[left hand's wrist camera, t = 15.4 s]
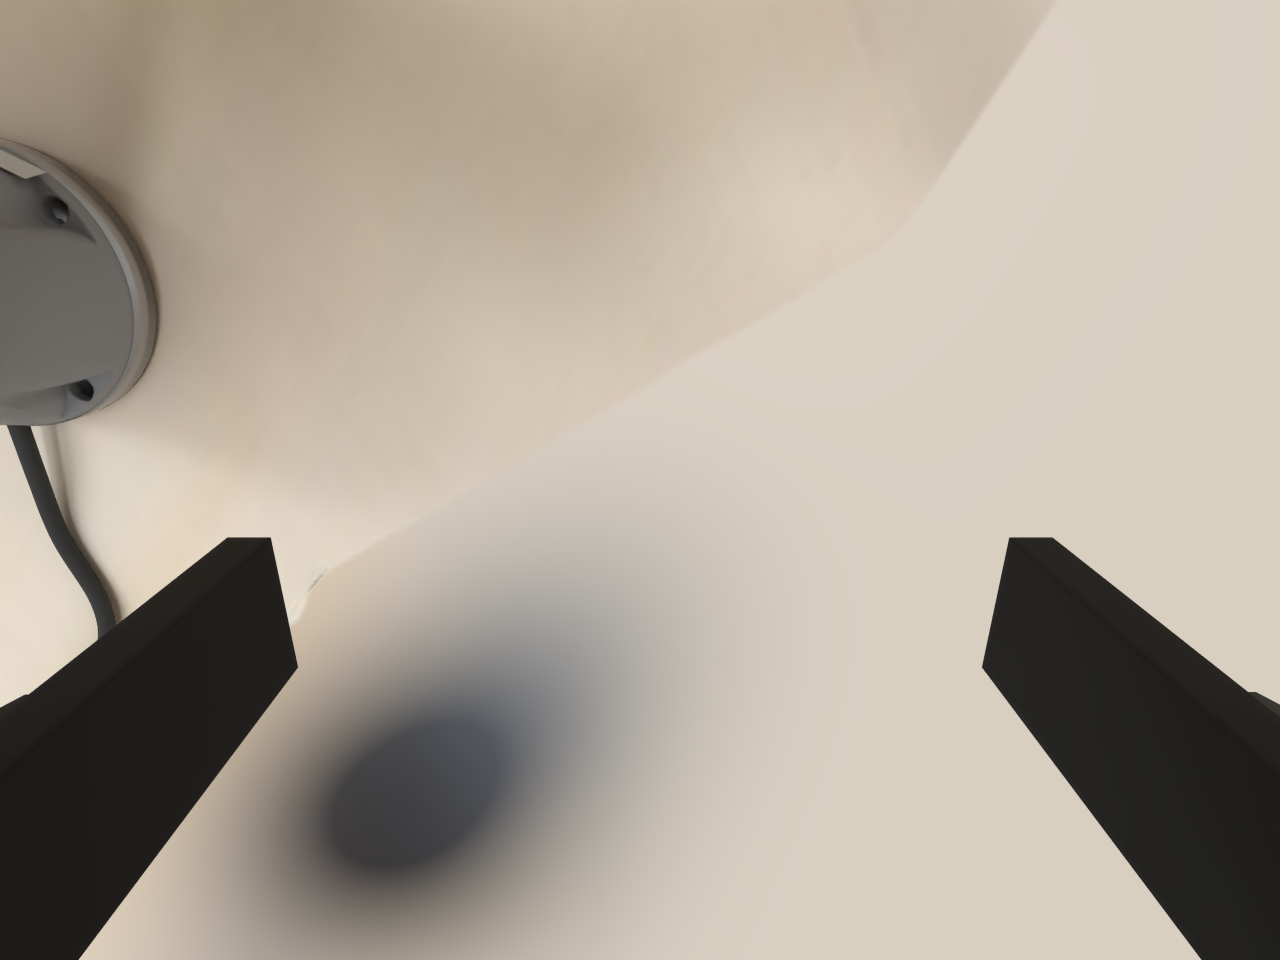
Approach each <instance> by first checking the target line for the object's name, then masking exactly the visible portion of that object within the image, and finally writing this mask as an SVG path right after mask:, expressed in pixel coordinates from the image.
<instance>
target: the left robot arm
mask: <svg viewBox="0 0 1280 960" xmlns="http://www.w3.org/2000/svg"><path fill="white" fill-rule="evenodd" d="M155 334H156V304H155V297H154V291H153V287H152V283H151V279H150V276H149V273H148V270H147V267H146V265H145V262H144V260H143V258H142V255H141V253H140V251H139V249H138V247H137V245H136V243H135V242H134V240H133V238H132V236H131V235H130V233H129V232H128V230H127V228H126V227H125V225H124V224H123V222H122V221H121V220H120V218H119V217H118V216H117V215H116V213H115V212H114V211H113V209H112V208H111V207H110V206H109V205H108V204H107V203H106V201H105V200H104V199H103V198H102V197H101V196H100V195H99V194H98V193H97V192H96V191H95V190H94V189H93V188H92V187H91V186H89V185H88V184H87V183H86V182H85V181H83V180H82V179H81V178H80V177H79V176H77V175H76V174H75V173H73V172H72V171H70V170H69V169H68V168H66V167H65V166H63V165H62V164H60V163H58V162H57V161H55V160H53V159H52V158H50V157H48V156H46V155H44V154H42V153H40V152H38V151H36V150H34V149H31V148H29V147H26V146H24V145H21V144H18V143H15V142H11V141H8V140H4V139H0V425H7V427H8V429H9V432H10V435H11V438H12V440H13V443H14V446H15V449H16V451H17V454H18V457H19V460H20V462H21V465H22V468H23V470H24V473H25V476H26V478H27V481H28V484H29V486H30V489H31V492H32V494H33V497H34V500H35V502H36V505H37V508H38V510H39V513H40V515H41V518H42V520H43V523H44V525H45V527H46V529H47V532H48V534H49V536H50V538H51V540H52V542H53V544H54V546H55V547H56V549H57V551H58V552H59V554H60V556H61V557H62V559H63V560H64V562H65V563H66V565H67V566H68V568H69V569H70V571H71V572H72V574H73V575H74V577H75V578H76V580H77V581H78V583H79V584H80V586H81V587H82V589H83V590H84V592H85V594H86V596H87V597H88V599H89V601H90V603H91V606H92V608H93V611H94V614H95V617H96V621H97V626H98V640H97V641H96V642H95V643H93V644H92V645H91V646H90V647H88V648H87V649H86V650H85V651H83V652H82V653H81V654H79V655H78V656H77V657H76V658H74V659H73V660H72V661H71V662H69V663H68V664H67V665H66V666H64V667H63V668H62V669H60V670H59V671H58V672H57V673H55V674H54V675H53V676H52V677H50V678H49V679H48V680H47V681H45V682H44V683H43V684H41V685H40V686H39V687H38V688H36V689H35V690H34V691H33V692H31V693H30V694H29V695H23V696H21V697H20V698H18V699H16V700H14V701H12V702H10V703H8V704H6V705H4V706H3V707H1V708H0V960H79V958H80V957H81V956H82V954H83V953H84V952H85V950H86V949H87V948H88V946H89V945H90V944H91V942H92V941H93V940H94V938H95V937H96V936H97V934H98V933H99V932H100V930H101V929H102V928H103V926H104V925H105V924H106V922H107V921H108V920H109V918H110V917H111V916H112V914H113V913H114V912H115V910H116V909H117V908H118V906H119V905H120V904H121V902H122V901H123V900H124V898H125V897H126V896H127V895H128V893H129V892H130V890H131V889H132V888H133V887H134V885H135V884H136V883H137V881H138V880H139V879H140V877H141V876H142V875H143V873H144V872H145V871H146V869H147V868H148V866H149V865H150V864H151V863H152V861H153V860H154V858H155V857H156V856H157V855H158V853H159V852H160V851H161V849H162V848H163V846H164V845H165V844H166V843H167V841H168V840H169V839H170V837H171V836H172V835H173V833H174V832H175V831H176V829H177V828H178V827H179V825H180V824H181V823H182V821H183V820H184V819H185V817H186V816H187V814H188V813H189V812H190V811H191V809H192V808H193V807H194V805H195V804H196V803H197V801H198V800H199V799H200V797H201V796H202V795H203V793H204V792H205V791H206V789H207V788H208V787H209V785H210V784H211V783H212V781H213V780H214V779H215V777H216V776H217V774H218V773H219V772H220V771H221V769H222V768H223V767H224V765H225V764H226V763H227V761H228V760H229V759H230V757H231V756H232V755H233V753H234V752H235V751H236V749H237V748H238V747H239V745H240V744H241V743H242V741H243V740H244V739H245V737H246V736H247V735H248V733H249V732H250V731H251V729H252V728H253V727H254V725H255V724H256V723H257V721H258V720H259V719H260V717H261V716H262V715H263V713H264V712H265V711H266V709H267V708H268V707H269V705H270V704H271V703H272V701H273V700H274V699H275V697H276V696H277V695H278V693H279V692H280V691H281V689H282V688H283V687H284V685H285V684H286V683H287V681H288V680H289V679H290V677H291V676H292V675H293V673H294V672H295V671H296V669H297V668H298V665H297V660H296V655H295V651H294V646H293V641H292V636H291V632H290V627H289V622H288V617H287V613H286V608H285V603H284V599H283V594H282V589H281V584H280V580H279V575H278V570H277V565H276V561H275V556H274V551H273V546H272V542H271V538H226V539H225V540H224V541H223V542H221V543H220V544H219V545H217V546H216V547H215V548H214V549H212V550H211V551H210V552H209V553H207V554H206V555H205V556H204V557H202V558H201V559H200V560H198V561H197V562H196V563H195V564H193V565H192V566H191V567H190V568H188V569H187V570H186V571H185V572H183V573H182V574H181V575H179V576H178V577H177V578H176V579H174V580H173V581H172V582H171V583H169V584H168V585H167V586H166V587H164V588H163V589H162V590H160V591H159V592H158V593H157V594H155V595H154V596H153V597H152V598H150V599H149V600H148V601H147V602H145V603H144V604H143V605H141V606H140V607H139V608H138V609H136V610H135V611H134V612H133V613H131V614H130V615H129V616H128V617H126V618H125V619H124V620H122V621H121V622H120V623H119V624H117V625H116V622H115V617H114V612H113V609H112V605H111V603H110V600H109V598H108V596H107V593H106V591H105V589H104V588H103V586H102V584H101V582H100V581H99V579H98V578H97V576H96V574H95V573H94V571H93V570H92V568H91V567H90V565H89V564H88V562H87V561H86V559H85V558H84V556H83V555H82V553H81V552H80V550H79V548H78V547H77V545H76V544H75V542H74V540H73V538H72V536H71V534H70V532H69V530H68V528H67V526H66V524H65V521H64V519H63V517H62V514H61V512H60V509H59V506H58V504H57V501H56V498H55V495H54V492H53V489H52V487H51V484H50V481H49V478H48V475H47V473H46V470H45V467H44V464H43V461H42V459H41V456H40V453H39V450H38V447H37V444H36V441H35V438H34V435H33V433H32V430H31V427H30V426H42V425H52V424H57V423H62V422H66V421H69V420H72V419H75V418H78V417H81V416H84V415H86V414H89V413H92V412H94V411H97V410H100V409H102V408H104V407H106V406H108V405H110V404H112V403H113V402H115V401H116V400H118V399H119V398H121V397H122V396H123V395H124V394H126V393H127V392H128V391H129V390H130V389H131V388H132V387H133V386H134V384H135V383H136V382H137V380H138V379H139V378H140V376H141V375H142V373H143V371H144V369H145V368H146V366H147V363H148V361H149V359H150V356H151V353H152V349H153V346H154V341H155ZM316 583H317V581H316ZM316 583H315V584H316ZM315 584H314V585H315ZM314 585H313V586H314ZM313 586H312V587H313ZM982 668H983V669H984V671H985V672H986V673H987V675H988V676H989V677H990V679H991V680H992V681H993V683H994V684H995V685H996V687H997V688H998V689H999V691H1000V692H1001V693H1002V695H1003V696H1004V697H1005V699H1006V700H1007V701H1008V703H1009V704H1010V705H1011V707H1012V708H1013V709H1014V711H1015V712H1016V713H1017V715H1018V716H1019V717H1020V719H1021V720H1022V721H1023V723H1024V724H1025V725H1026V727H1027V728H1028V729H1029V731H1030V732H1031V733H1032V735H1033V736H1034V737H1035V739H1036V740H1037V741H1038V743H1039V744H1040V745H1041V747H1042V748H1043V749H1044V751H1045V752H1046V753H1047V755H1048V756H1049V757H1050V759H1051V760H1052V761H1053V763H1054V764H1055V765H1056V767H1057V768H1058V769H1059V771H1060V772H1061V773H1062V775H1063V776H1064V777H1065V779H1066V780H1067V781H1068V783H1069V784H1070V785H1071V786H1072V788H1073V789H1074V791H1075V792H1076V793H1077V795H1078V796H1079V797H1080V799H1081V800H1082V801H1083V803H1084V804H1085V805H1086V807H1087V808H1088V809H1089V811H1090V812H1091V813H1092V815H1093V816H1094V817H1095V819H1096V820H1097V821H1098V823H1099V824H1100V825H1101V826H1102V828H1103V829H1104V831H1105V832H1106V833H1107V835H1108V836H1109V837H1110V839H1111V840H1112V841H1113V843H1114V844H1115V845H1116V846H1117V848H1118V849H1119V850H1120V852H1121V853H1122V855H1123V856H1124V857H1125V859H1126V860H1127V861H1128V862H1129V864H1130V865H1131V867H1132V868H1133V869H1134V871H1135V872H1136V873H1137V875H1138V876H1139V877H1140V879H1141V880H1142V881H1143V882H1144V884H1145V885H1146V887H1147V888H1148V889H1149V890H1150V892H1151V893H1152V894H1153V896H1154V897H1155V898H1156V900H1157V901H1158V902H1159V904H1160V905H1161V906H1162V908H1163V909H1164V910H1165V912H1166V913H1167V914H1168V916H1169V917H1170V918H1171V920H1172V921H1173V922H1174V924H1175V925H1176V926H1177V928H1178V929H1179V930H1180V932H1181V933H1182V934H1183V936H1184V937H1185V938H1186V940H1187V941H1188V942H1189V944H1190V945H1191V946H1192V948H1193V949H1194V950H1195V952H1196V953H1197V954H1198V956H1199V957H1200V958H1201V960H1280V705H1279V704H1278V703H1276V702H1274V701H1272V700H1270V699H1268V698H1266V697H1264V696H1262V695H1260V694H1258V693H1257V692H1247V691H1246V690H1245V689H1243V688H1242V687H1241V686H1240V685H1239V684H1237V683H1236V682H1235V681H1233V680H1232V679H1231V678H1230V677H1228V676H1227V675H1226V674H1225V673H1223V672H1222V671H1221V670H1220V669H1218V668H1217V667H1216V666H1214V665H1213V664H1212V663H1211V662H1209V661H1208V660H1207V659H1206V658H1204V657H1203V656H1202V655H1201V654H1199V653H1198V652H1197V651H1195V650H1194V649H1193V648H1192V647H1190V646H1189V645H1188V644H1187V643H1185V642H1184V641H1183V640H1182V639H1180V638H1179V637H1178V636H1176V635H1175V634H1174V633H1173V632H1171V631H1170V630H1169V629H1168V628H1166V627H1165V626H1164V625H1163V624H1161V623H1160V622H1159V621H1158V620H1156V619H1155V618H1154V617H1152V616H1151V615H1150V614H1149V613H1147V612H1146V611H1145V610H1144V609H1142V608H1141V607H1140V606H1139V605H1137V604H1136V603H1135V602H1133V601H1132V600H1131V599H1130V598H1128V597H1127V596H1126V595H1125V594H1123V593H1122V592H1121V591H1120V590H1118V589H1117V588H1116V587H1114V586H1113V585H1112V584H1111V583H1109V582H1108V581H1107V580H1106V579H1104V578H1103V577H1102V576H1100V575H1099V574H1098V573H1097V572H1095V571H1094V570H1093V569H1092V568H1090V567H1089V566H1088V565H1087V564H1085V563H1084V562H1083V561H1081V560H1080V559H1079V558H1078V557H1076V556H1075V555H1074V554H1073V553H1071V552H1070V551H1069V550H1068V549H1066V548H1065V547H1064V546H1063V545H1061V544H1060V543H1059V542H1057V541H1056V540H1055V539H1054V538H1009V542H1008V546H1007V551H1006V556H1005V561H1004V565H1003V570H1002V575H1001V580H1000V584H999V589H998V594H997V599H996V603H995V608H994V613H993V617H992V622H991V627H990V632H989V637H988V641H987V646H986V651H985V656H984V660H983V665H982Z"/></svg>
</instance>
